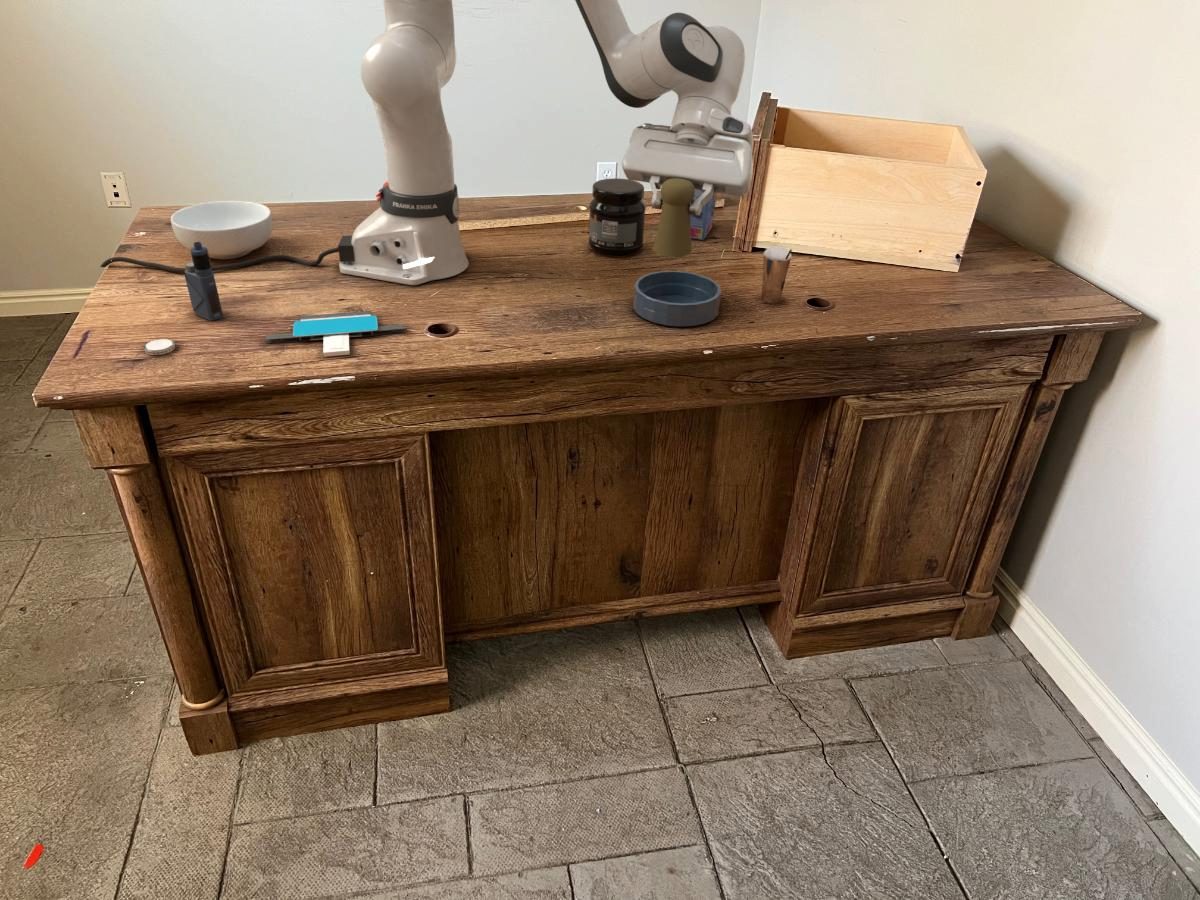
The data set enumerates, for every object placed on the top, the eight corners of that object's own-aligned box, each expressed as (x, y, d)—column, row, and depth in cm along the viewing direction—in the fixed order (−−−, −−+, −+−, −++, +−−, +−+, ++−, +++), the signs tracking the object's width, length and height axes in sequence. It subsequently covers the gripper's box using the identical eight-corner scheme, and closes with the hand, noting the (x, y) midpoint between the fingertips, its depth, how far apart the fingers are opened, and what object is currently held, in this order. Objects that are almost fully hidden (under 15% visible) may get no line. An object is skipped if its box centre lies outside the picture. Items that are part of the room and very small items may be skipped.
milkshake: (770, 309, 143) (779, 251, 137) (751, 296, 147) (759, 240, 141) (792, 304, 144) (802, 247, 139) (773, 292, 148) (782, 236, 143)
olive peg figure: (689, 258, 133) (696, 187, 127) (650, 254, 134) (656, 183, 127) (693, 245, 138) (700, 176, 132) (656, 241, 139) (661, 172, 132)
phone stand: (263, 362, 122) (261, 351, 121) (268, 326, 131) (266, 316, 130) (407, 350, 126) (406, 339, 125) (401, 316, 136) (400, 306, 135)
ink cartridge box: (705, 241, 169) (713, 166, 161) (677, 237, 170) (684, 163, 162) (714, 225, 177) (722, 153, 169) (688, 222, 178) (695, 150, 170)
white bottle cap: (141, 355, 122) (140, 351, 121) (149, 343, 125) (147, 339, 125) (171, 354, 122) (170, 350, 122) (178, 341, 126) (177, 337, 125)
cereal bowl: (274, 266, 151) (267, 227, 147) (172, 272, 147) (162, 232, 144) (280, 233, 165) (273, 196, 161) (187, 238, 161) (178, 200, 157)
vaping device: (212, 322, 132) (195, 247, 125) (190, 314, 134) (172, 239, 127) (227, 316, 133) (210, 242, 127) (205, 308, 136) (187, 235, 129)
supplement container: (630, 236, 170) (634, 175, 163) (651, 255, 161) (656, 191, 155) (580, 241, 166) (581, 179, 160) (599, 261, 158) (601, 196, 152)
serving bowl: (629, 324, 136) (630, 300, 134) (637, 289, 148) (638, 267, 145) (717, 331, 135) (720, 308, 133) (719, 296, 146) (721, 274, 144)
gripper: (631, 110, 134) (607, 189, 131) (761, 126, 128) (737, 209, 126) (638, 133, 140) (615, 210, 137) (762, 150, 134) (740, 230, 132)
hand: (675, 210), depth 131 cm, fingers closed on olive peg figure, 5 cm apart
